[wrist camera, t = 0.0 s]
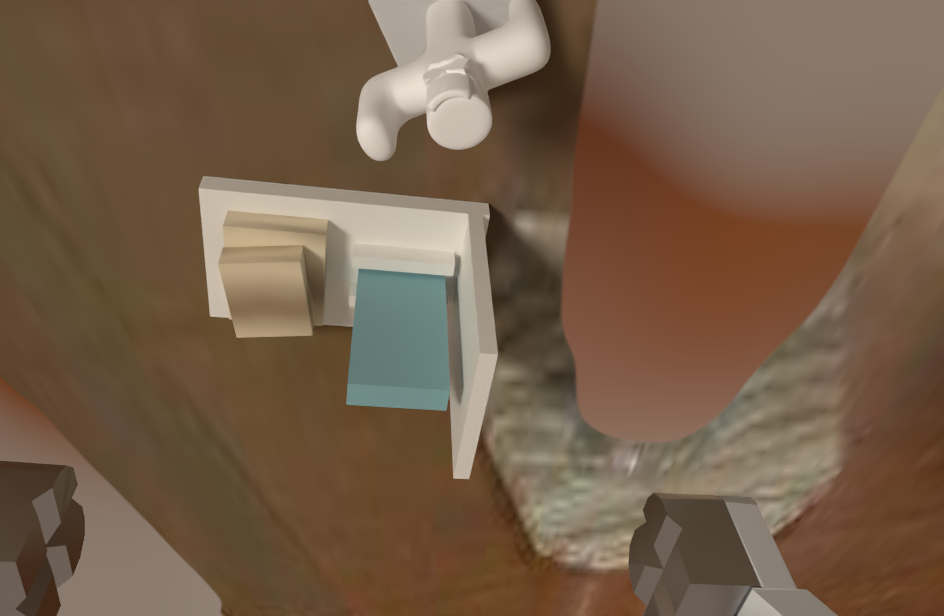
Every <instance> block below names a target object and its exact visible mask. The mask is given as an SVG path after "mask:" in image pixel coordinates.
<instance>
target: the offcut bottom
mask: <svg viewBox="0 0 944 616" xmlns="http://www.w3.org/2000/svg"><path fill="white" fill-rule="evenodd" d="M327 234H328V219H318V218H307V217H296V216H285V215H274V214H263V213H252V212H241V211H230V210H228V212H227V215H226V218H225V221H224V224H223V237H224V247H250V246H290V245H303V246H304V252H305V259H306V265H307V271H308V277H309V283H310V289H311V295H312V301H313V307H314V313H315V324H314V325H316V326H323V320H324V312H325V292H326V263H327ZM228 308H229V305H228ZM229 319H232V317H231V313H230V309H229Z"/></svg>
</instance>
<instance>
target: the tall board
mask: <svg viewBox="0 0 944 616" xmlns="http://www.w3.org/2000/svg"><path fill="white" fill-rule="evenodd" d="M449 392H450V380H449V356H448V333H447V309H446V285H445V276H444V275H432V274H420V273H408V272H396V271H384V270H372V269H360V268H358V279H357V290H356V301H355V311H354V322H353V333H352V343H351V354H350V365H349V375H348V387H347V402H346V405H361V406H378V407H394V408H411V409H427V410H444V411H446V409H447V403H448V398H449Z"/></svg>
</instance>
